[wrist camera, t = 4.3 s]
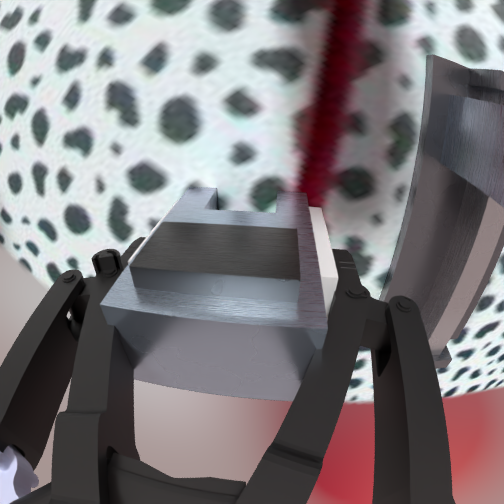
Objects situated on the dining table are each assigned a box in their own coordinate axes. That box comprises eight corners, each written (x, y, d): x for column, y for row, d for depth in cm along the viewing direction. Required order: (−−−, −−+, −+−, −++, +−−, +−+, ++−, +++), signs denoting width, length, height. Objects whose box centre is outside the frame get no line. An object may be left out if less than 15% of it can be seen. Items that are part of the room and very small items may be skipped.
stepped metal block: (194, 247, 18) (133, 379, 10) (188, 174, 16) (92, 283, 7) (299, 254, 18) (305, 401, 9) (307, 179, 15) (334, 306, 7)
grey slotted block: (365, 334, 21) (388, 462, 12) (426, 55, 11) (584, 58, 1) (454, 332, 20) (492, 434, 11) (529, 102, 10) (648, 155, 1)
